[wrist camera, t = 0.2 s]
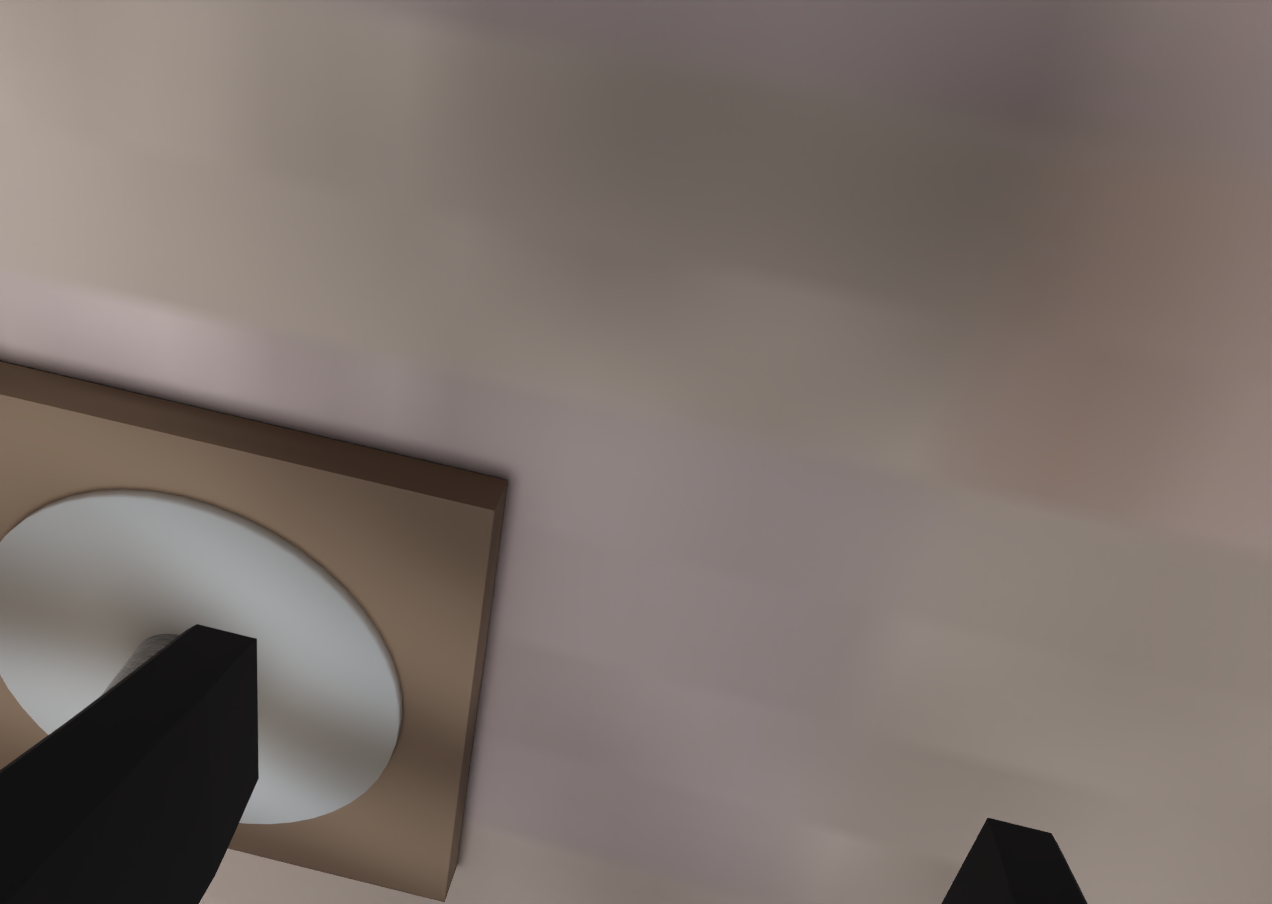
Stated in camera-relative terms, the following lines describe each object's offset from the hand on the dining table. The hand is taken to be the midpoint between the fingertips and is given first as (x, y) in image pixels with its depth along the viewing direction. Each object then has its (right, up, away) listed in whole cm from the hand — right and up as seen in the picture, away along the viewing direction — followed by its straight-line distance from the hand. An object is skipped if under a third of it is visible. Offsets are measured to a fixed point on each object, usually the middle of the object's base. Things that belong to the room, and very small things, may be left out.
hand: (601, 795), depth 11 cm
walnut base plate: (-9, -1, +14) cm, 17 cm away
